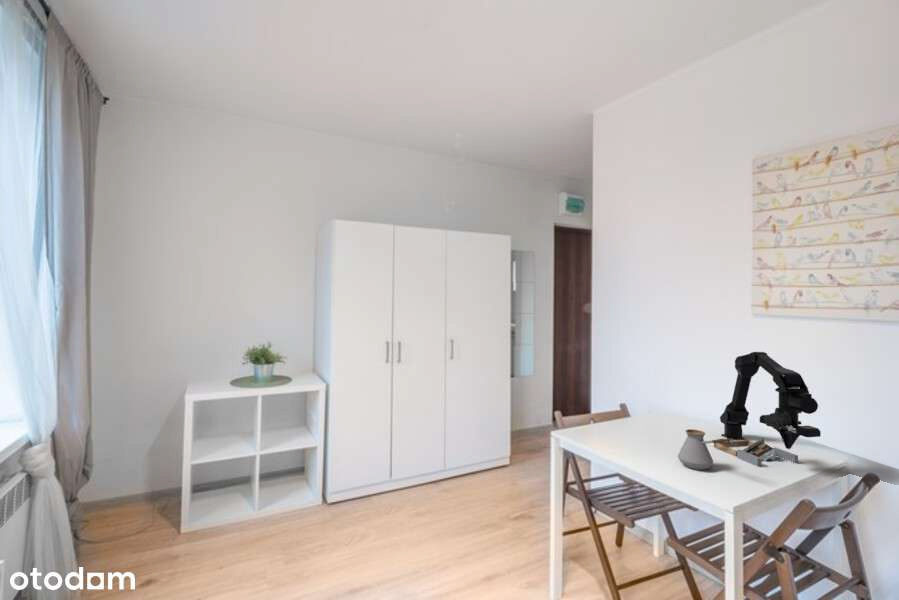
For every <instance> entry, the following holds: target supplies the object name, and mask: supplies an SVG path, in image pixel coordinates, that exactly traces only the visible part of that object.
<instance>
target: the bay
mask: <svg viewBox="0 0 899 600" xmlns="http://www.w3.org/2000/svg"><path fill="white" fill-rule="evenodd" d="M772 448H773V449H775V457H776V456H778V457H777V458H779V457H781V458H784V459H786V460H785V461H787V460H789V461H791V462H790V463H792V462H793V463H792V464H794V463H797V464H799V455H798V454H795V453H791V452H790V451H787V450H785V449H781V448H778V447H777V446H774V447H772ZM742 450H743V449H737V450H736V451H737V457H736V458H737V459H738V460H739V459H740V460H741V461H744V462H746V463H748V464H751V465H753V466H755V465H756V467H757V466H759V467H762V460H761V458H759V457H757V456H754V455H752V454H749V453H747V452H744V451H742ZM781 458H780V459H781ZM784 459H783V460H784ZM789 461H788V462H789Z"/></svg>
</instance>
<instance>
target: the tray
mask: <svg viewBox="0 0 899 600" xmlns="http://www.w3.org/2000/svg"><path fill="white" fill-rule="evenodd" d="M736 441H737V444H736ZM732 443H733V444H732ZM754 443H755V442H754V441H752V440H749V439H746V440H745V439H742V440H734V441H730V442H727V441H726V442H723V443H713V448H715V449H718V450H720V451H723V452H724V453H726V454H729V455H732V456H733V457H736V458H737V450H736V449H733V448H735V447H749V446H751V445H752V444H754ZM734 444H736V445H734ZM747 445H749V446H747Z"/></svg>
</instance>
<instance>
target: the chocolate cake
mask: <svg viewBox="0 0 899 600" xmlns="http://www.w3.org/2000/svg"><path fill="white" fill-rule="evenodd" d="M773 448H774V447H772V446H770V445H769V444H768V443H765V437H762V438H761V439H759V440H756V442H755V443H754V444H752V445H751V446H746V448H744V449H741V450H742V451H744V452H747V453H749V454H752V455H754V456H757V457H759V458H761V461H763V460H764V462H766V461H768V462H769V460H770V459H772V460H771V461H775V459H776V456H775V449H773Z"/></svg>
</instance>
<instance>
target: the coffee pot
mask: <svg viewBox="0 0 899 600" xmlns="http://www.w3.org/2000/svg"><path fill="white" fill-rule="evenodd" d="M685 433H686V435H687V436H686V438H685V440H684V443H683V444H682V447H681V448H680V450H679V452H678V454H677V458H678V460H679V461H680V463H682V464H683V466H684V467H686V468H689V469H692V470H696V471H705V470H708V468H709V469H710V467H712V466H713V464H714V460H713V457H712V456H711V455H712V454H711V453H710V451H709V449H708V446H707V444H712V443H713V444H714V443H723V442H730V441H736V444H737V441H738V440H735V439H733V438H731V439H730V438H727V437H726V438H718V439H713V440H712V439H711V440H705V439H704V436H705V435H706V432H705V431H702V430H698V429H691V428H689V429H686V430H685ZM732 444H733V443H732ZM736 444H734V445H736Z"/></svg>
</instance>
